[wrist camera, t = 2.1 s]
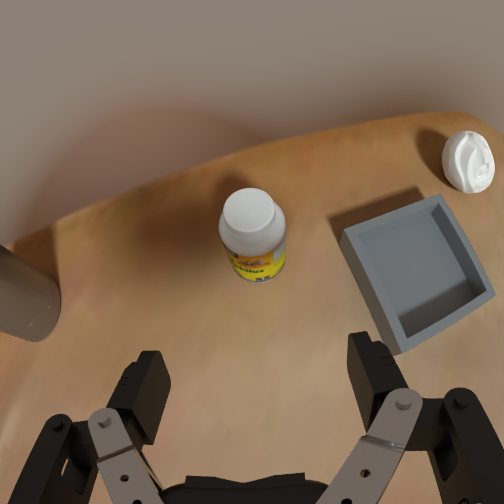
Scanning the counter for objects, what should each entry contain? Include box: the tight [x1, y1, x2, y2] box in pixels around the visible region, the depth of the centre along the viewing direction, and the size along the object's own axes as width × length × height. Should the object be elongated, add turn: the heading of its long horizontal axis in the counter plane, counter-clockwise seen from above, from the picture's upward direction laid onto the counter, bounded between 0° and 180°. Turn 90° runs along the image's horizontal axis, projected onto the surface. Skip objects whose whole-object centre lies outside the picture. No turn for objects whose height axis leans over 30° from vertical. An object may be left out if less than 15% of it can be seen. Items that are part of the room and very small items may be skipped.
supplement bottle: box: [219, 188, 286, 283], centre depth 28 cm, size 6×6×10 cm
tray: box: [339, 193, 496, 356], centre depth 29 cm, size 13×13×4 cm
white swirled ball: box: [442, 131, 495, 193], centre depth 31 cm, size 8×8×8 cm
